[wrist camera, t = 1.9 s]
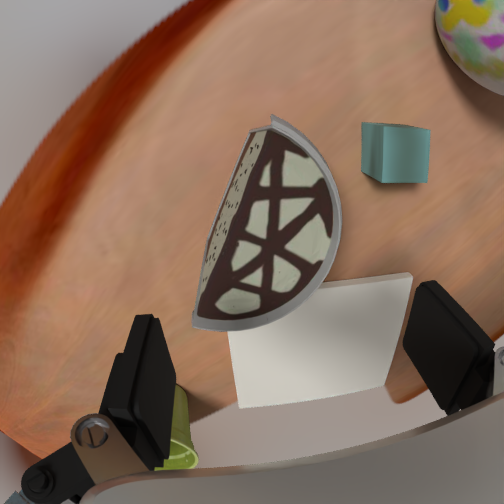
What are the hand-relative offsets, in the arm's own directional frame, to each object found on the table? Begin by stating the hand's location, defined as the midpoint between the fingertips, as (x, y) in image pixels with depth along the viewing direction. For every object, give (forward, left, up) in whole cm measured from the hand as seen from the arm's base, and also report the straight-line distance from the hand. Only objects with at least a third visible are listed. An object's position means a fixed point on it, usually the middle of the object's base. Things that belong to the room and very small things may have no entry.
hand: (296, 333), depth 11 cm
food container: (-1, 0, -16) cm, 16 cm away
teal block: (-11, -4, -16) cm, 19 cm away
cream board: (-6, +16, -16) cm, 23 cm away
